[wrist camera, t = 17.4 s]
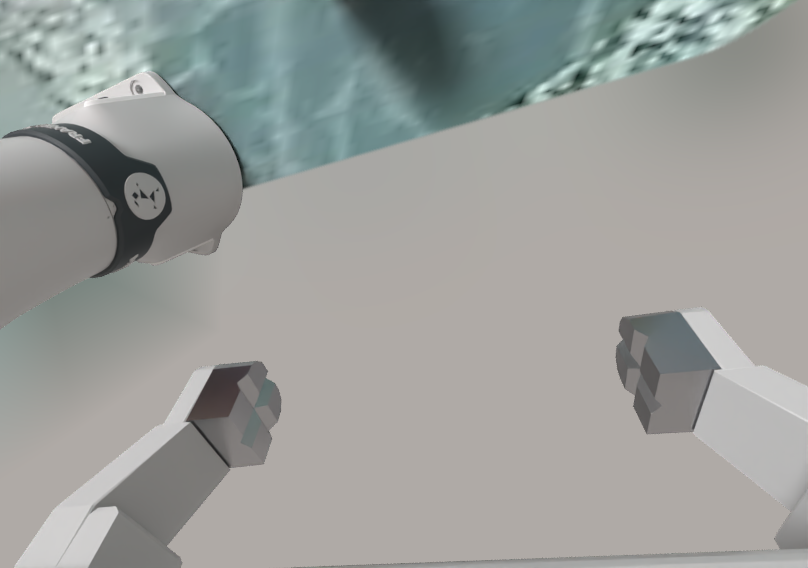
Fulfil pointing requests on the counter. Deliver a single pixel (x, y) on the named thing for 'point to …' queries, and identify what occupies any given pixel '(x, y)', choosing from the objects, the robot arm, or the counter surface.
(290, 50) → the counter surface
